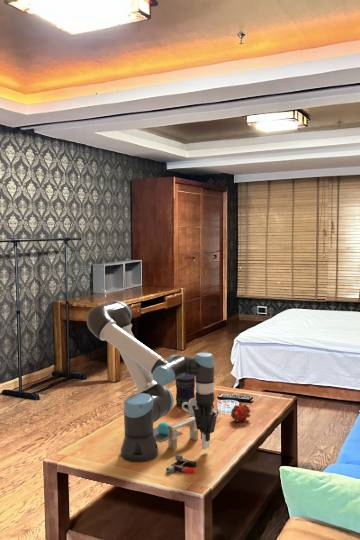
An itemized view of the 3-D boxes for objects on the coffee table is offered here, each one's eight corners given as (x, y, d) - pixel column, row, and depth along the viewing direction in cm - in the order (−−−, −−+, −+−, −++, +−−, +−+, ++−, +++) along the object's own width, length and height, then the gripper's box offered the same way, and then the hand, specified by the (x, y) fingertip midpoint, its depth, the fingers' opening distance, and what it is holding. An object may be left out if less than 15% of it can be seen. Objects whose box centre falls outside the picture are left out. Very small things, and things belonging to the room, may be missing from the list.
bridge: (198, 438, 232) (197, 418, 231) (173, 449, 222) (173, 427, 222) (193, 436, 234) (192, 416, 234) (168, 447, 225) (168, 425, 224)
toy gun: (163, 473, 202) (162, 461, 202) (183, 462, 211) (182, 450, 211) (183, 481, 196) (183, 468, 195) (202, 469, 205) (202, 457, 205)
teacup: (211, 413, 262) (211, 397, 262) (210, 421, 252) (210, 405, 251) (183, 412, 264) (183, 396, 263) (181, 421, 253) (180, 404, 252)
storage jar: (177, 401, 280) (177, 373, 279) (196, 401, 279) (195, 373, 278) (174, 407, 271) (174, 379, 269) (194, 408, 269) (193, 379, 268)
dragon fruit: (248, 419, 257) (236, 431, 248) (235, 407, 261) (222, 418, 251) (257, 408, 253) (244, 420, 244) (243, 396, 256) (230, 407, 247)
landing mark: (160, 442, 229) (160, 441, 229) (141, 433, 239) (141, 433, 239) (182, 433, 238) (182, 433, 238) (163, 425, 248) (163, 425, 248)
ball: (153, 427, 238) (158, 438, 236) (158, 421, 235) (164, 432, 233) (162, 424, 242) (168, 434, 240) (168, 418, 239) (174, 429, 237)
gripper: (223, 393, 214) (223, 449, 217) (199, 385, 224) (200, 440, 226) (210, 397, 209) (210, 455, 212) (187, 390, 219) (187, 445, 221)
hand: (205, 447), depth 219 cm, fingers closed
